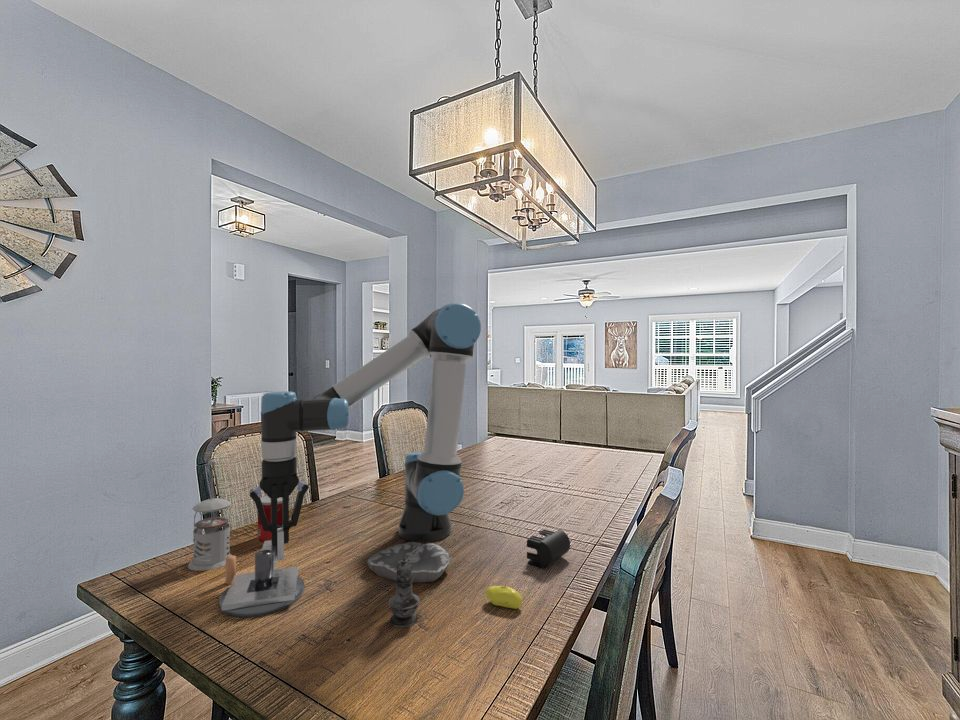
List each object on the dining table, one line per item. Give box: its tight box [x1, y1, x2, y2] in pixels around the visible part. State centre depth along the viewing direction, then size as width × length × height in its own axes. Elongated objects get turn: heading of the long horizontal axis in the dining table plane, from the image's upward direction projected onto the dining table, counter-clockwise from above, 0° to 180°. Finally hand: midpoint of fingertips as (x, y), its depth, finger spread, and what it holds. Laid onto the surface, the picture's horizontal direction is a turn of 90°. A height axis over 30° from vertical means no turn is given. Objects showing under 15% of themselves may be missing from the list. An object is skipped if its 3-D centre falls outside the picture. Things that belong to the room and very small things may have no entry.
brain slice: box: [367, 541, 453, 583], centre depth 108 cm, size 20×17×3 cm
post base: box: [218, 549, 305, 618], centre depth 95 cm, size 16×16×9 cm
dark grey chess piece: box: [388, 557, 421, 628], centre depth 87 cm, size 6×6×12 cm
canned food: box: [257, 495, 283, 543], centre depth 126 cm, size 8×8×11 cm
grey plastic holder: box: [221, 540, 299, 612], centre depth 98 cm, size 20×13×5 cm, turn 19°
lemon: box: [484, 585, 524, 610], centre depth 92 cm, size 4×8×4 cm, turn 61°
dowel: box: [225, 555, 237, 585], centre depth 101 cm, size 2×2×6 cm
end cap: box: [526, 529, 571, 570], centre depth 112 cm, size 10×7×7 cm
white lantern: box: [187, 459, 234, 572], centre depth 111 cm, size 10×12×25 cm
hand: (280, 557), depth 106 cm, fingers closed
